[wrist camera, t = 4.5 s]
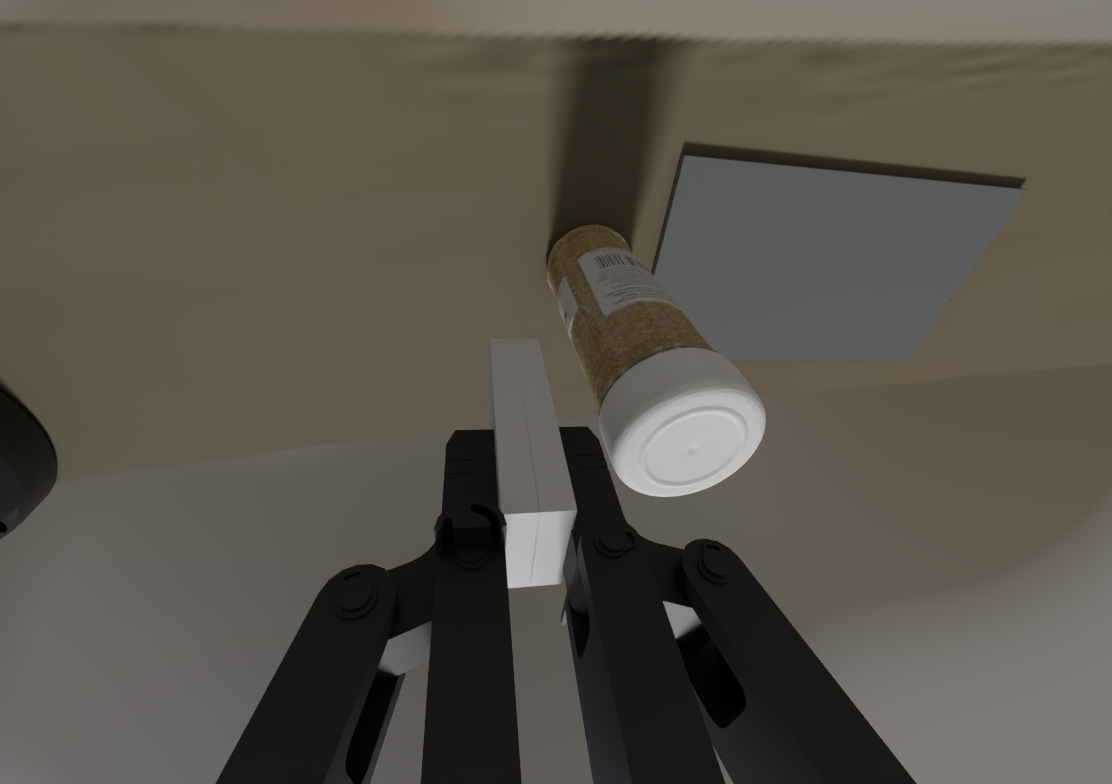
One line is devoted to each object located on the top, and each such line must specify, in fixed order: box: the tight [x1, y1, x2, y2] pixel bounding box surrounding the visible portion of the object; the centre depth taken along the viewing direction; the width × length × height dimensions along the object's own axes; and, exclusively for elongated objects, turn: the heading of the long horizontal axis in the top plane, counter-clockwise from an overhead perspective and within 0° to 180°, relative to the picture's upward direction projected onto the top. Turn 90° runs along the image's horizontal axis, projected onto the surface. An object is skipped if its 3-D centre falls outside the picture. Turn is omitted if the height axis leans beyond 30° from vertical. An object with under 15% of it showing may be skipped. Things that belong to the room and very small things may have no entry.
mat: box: [652, 154, 1028, 361], centre depth 25 cm, size 20×11×1 cm, turn 83°
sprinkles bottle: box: [546, 224, 766, 497], centre depth 17 cm, size 5×5×14 cm
